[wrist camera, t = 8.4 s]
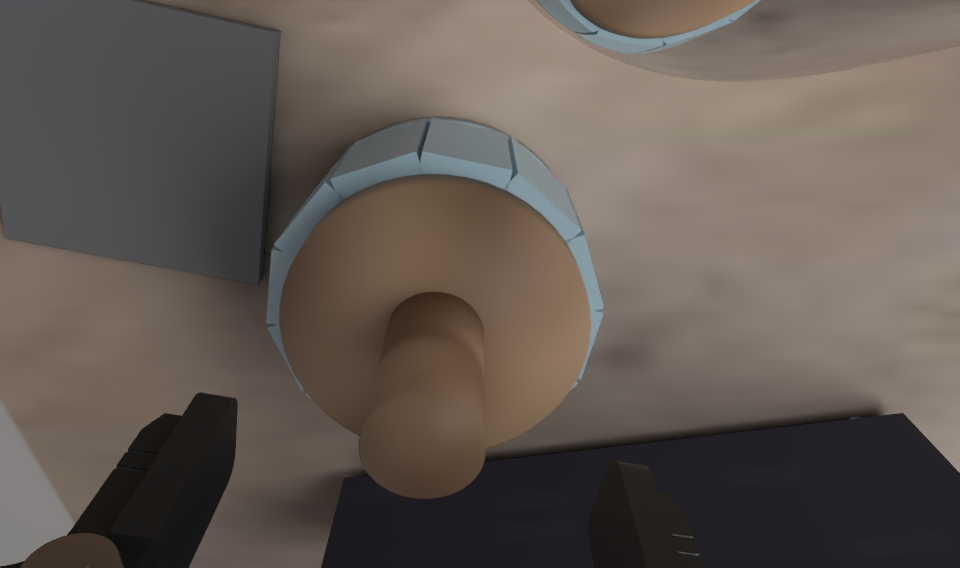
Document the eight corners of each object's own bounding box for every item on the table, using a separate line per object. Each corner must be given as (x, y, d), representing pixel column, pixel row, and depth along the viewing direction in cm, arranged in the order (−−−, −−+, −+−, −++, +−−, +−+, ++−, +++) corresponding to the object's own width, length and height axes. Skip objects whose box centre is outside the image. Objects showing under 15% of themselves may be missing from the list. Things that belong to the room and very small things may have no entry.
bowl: (322, 88, 21) (281, 121, 17) (610, 150, 22) (643, 197, 18) (296, 339, 26) (258, 419, 21) (538, 382, 27) (550, 467, 22)
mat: (-16, -36, 20) (-30, -36, 19) (280, 30, 21) (275, 32, 20) (15, 231, 24) (4, 238, 23) (262, 277, 24) (257, 284, 24)
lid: (277, 409, 21) (209, 562, 16) (302, 143, 17) (222, 225, 12) (543, 453, 22) (564, 612, 17) (624, 210, 18) (686, 314, 13)
